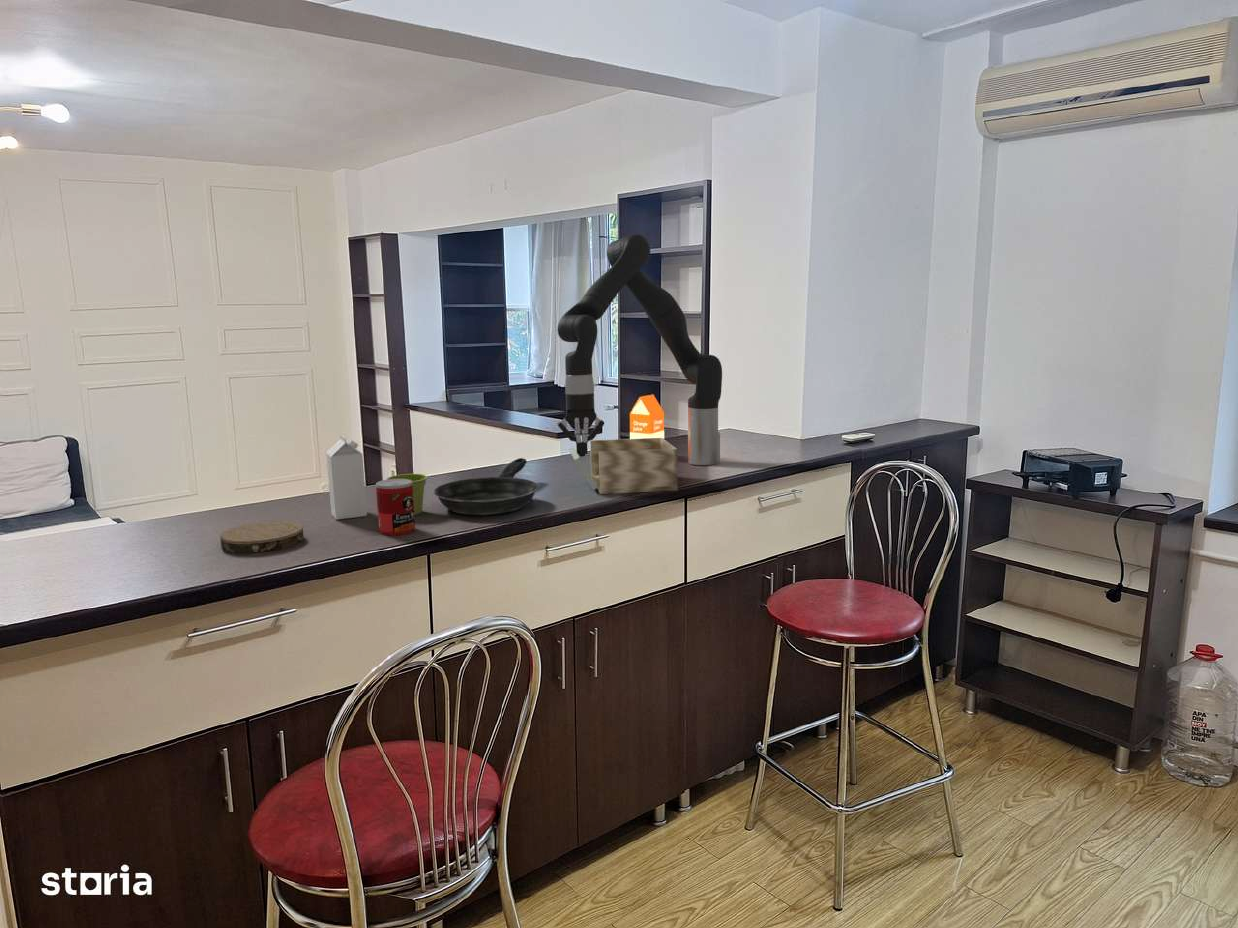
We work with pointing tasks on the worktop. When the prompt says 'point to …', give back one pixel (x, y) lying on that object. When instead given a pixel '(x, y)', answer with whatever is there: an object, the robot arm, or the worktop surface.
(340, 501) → the milk carton
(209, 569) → the worktop surface
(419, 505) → the plant pot
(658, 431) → the orange juice
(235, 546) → the brown flat disc
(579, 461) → the tailgate
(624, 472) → the crate
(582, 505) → the worktop surface
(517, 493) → the frying pan
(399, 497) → the canned food
